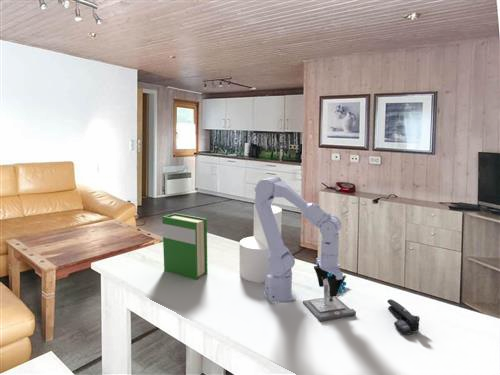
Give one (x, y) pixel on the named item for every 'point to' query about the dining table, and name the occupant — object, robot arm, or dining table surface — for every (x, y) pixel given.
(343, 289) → the gear
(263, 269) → the white tall piece
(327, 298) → the milkshake
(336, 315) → the scale base
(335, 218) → the robot arm
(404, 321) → the can opener
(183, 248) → the hardback book
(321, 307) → the scale pan
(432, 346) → the dining table surface
